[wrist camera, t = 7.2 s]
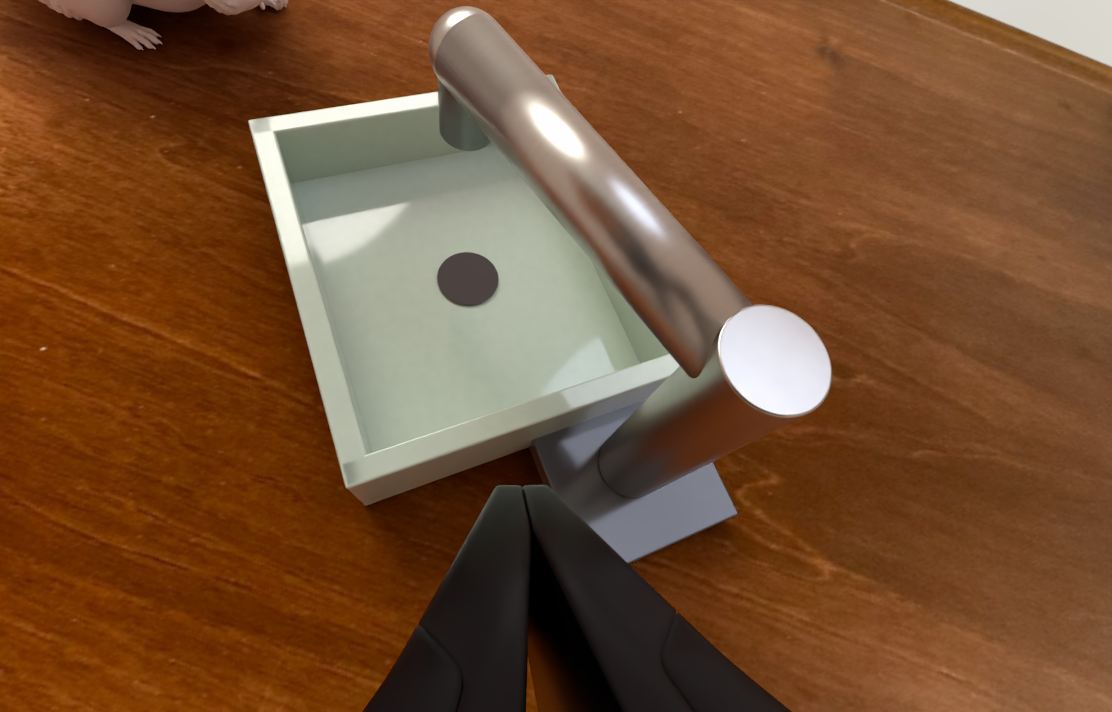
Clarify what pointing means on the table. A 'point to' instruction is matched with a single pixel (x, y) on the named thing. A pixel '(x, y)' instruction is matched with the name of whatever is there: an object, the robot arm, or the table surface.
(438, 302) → the sink
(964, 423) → the table surface
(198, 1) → the figurine
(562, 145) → the faucet
